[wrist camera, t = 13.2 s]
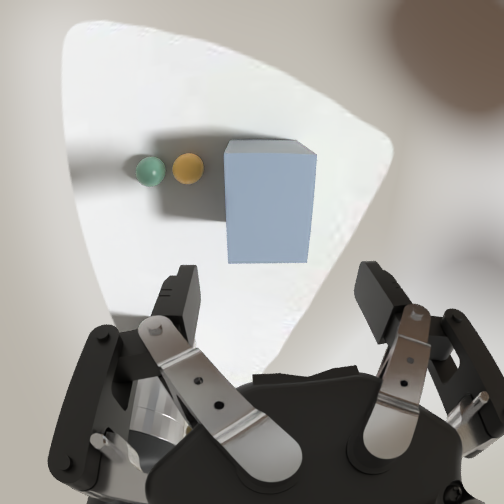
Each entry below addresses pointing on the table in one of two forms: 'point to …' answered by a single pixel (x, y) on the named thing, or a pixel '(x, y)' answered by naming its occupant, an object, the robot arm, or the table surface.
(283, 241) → the blue-grey block
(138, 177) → the green marble
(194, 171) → the amber marble
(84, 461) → the robot arm
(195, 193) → the table surface
